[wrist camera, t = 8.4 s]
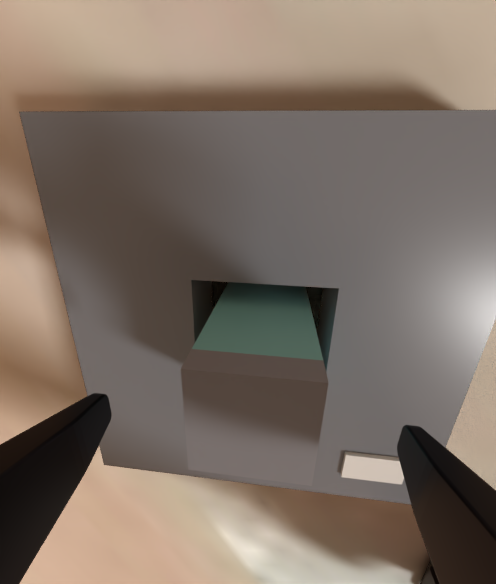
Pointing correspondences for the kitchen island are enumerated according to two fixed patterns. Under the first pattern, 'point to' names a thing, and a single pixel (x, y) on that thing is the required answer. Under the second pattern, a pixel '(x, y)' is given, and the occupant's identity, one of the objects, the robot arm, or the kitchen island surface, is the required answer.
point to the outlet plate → (276, 264)
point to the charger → (256, 386)
